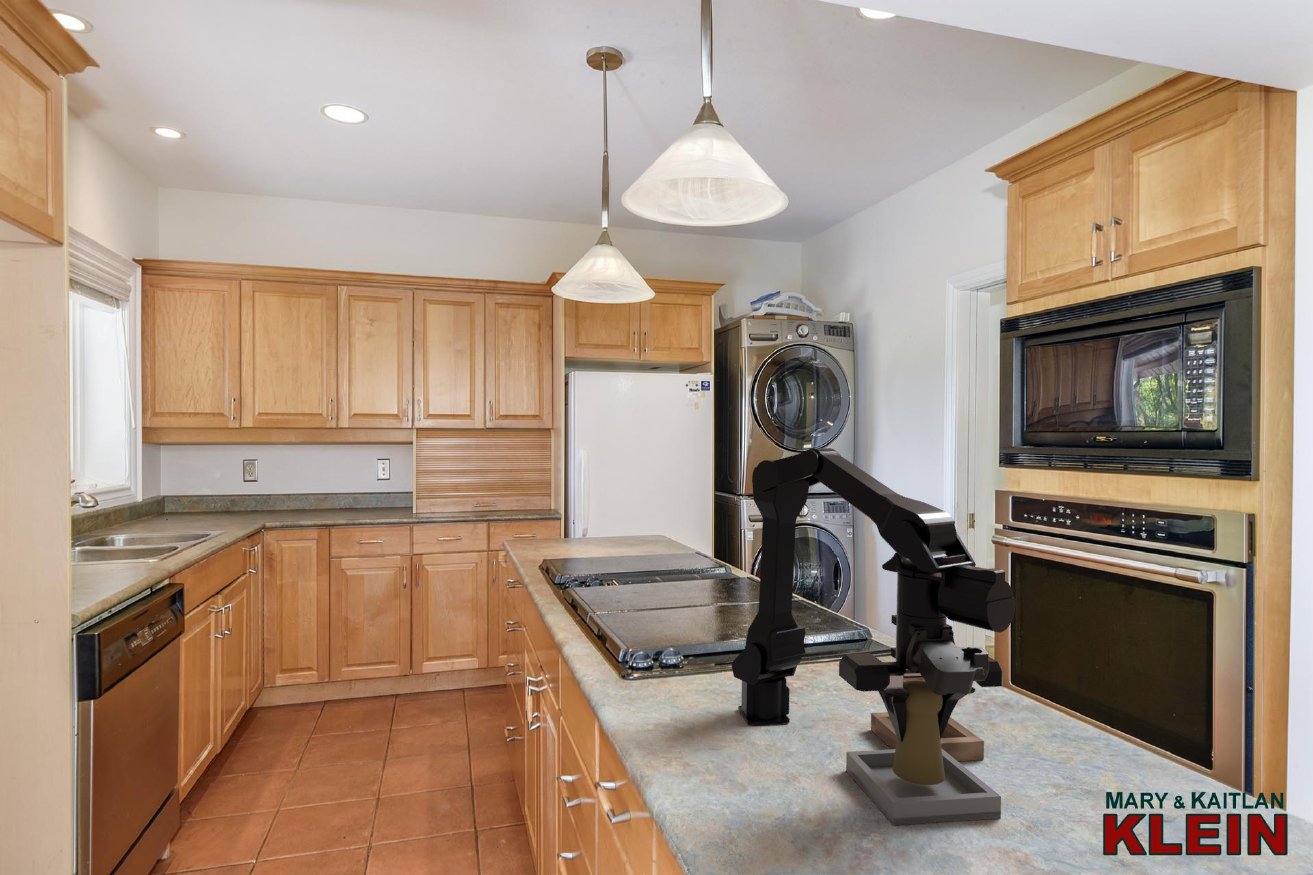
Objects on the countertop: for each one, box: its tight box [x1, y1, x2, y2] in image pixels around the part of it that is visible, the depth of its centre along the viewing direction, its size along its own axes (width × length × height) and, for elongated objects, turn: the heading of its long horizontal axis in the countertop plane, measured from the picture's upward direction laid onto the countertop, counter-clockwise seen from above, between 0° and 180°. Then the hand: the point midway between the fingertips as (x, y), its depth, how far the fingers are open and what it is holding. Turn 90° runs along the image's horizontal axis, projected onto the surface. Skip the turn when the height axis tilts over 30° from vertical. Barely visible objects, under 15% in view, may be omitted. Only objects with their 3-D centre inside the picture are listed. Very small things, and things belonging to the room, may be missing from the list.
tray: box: [845, 748, 1002, 826], centre depth 87 cm, size 13×13×2 cm
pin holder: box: [870, 711, 985, 762], centre depth 101 cm, size 11×11×2 cm
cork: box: [893, 680, 945, 785], centre depth 87 cm, size 6×6×11 cm
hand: (918, 739), depth 87 cm, fingers closed on cork, 4 cm apart
